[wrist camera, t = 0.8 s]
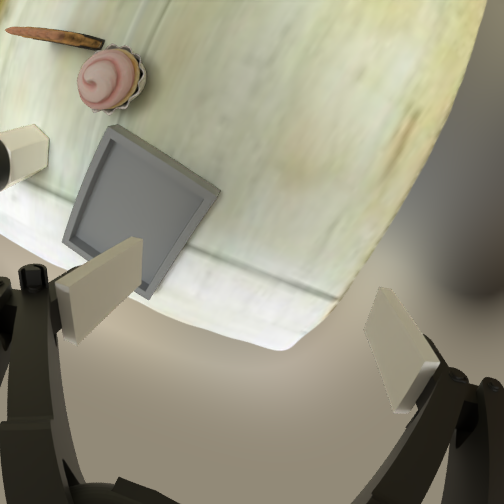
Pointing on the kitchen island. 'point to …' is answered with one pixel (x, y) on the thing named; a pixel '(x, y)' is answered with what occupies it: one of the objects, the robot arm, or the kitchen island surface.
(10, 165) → the jar
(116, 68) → the cupcake
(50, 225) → the kitchen island surface
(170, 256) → the tray
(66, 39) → the ammunition clip
